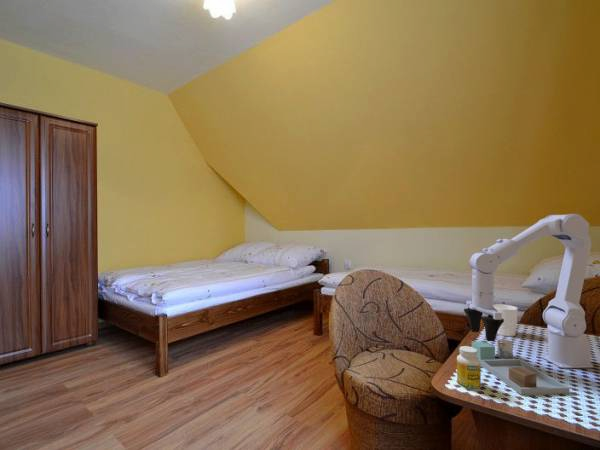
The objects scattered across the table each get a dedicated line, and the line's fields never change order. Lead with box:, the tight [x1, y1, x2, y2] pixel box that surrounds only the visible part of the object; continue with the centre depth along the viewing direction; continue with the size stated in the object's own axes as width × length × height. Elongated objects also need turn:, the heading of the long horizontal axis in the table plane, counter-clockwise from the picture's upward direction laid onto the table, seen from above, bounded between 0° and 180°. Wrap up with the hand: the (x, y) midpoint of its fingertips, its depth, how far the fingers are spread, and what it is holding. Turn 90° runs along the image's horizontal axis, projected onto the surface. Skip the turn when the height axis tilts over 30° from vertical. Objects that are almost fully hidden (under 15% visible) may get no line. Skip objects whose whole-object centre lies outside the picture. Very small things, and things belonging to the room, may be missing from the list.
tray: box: [479, 358, 570, 396], centre depth 83 cm, size 12×16×2 cm
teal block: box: [471, 340, 496, 360], centre depth 96 cm, size 4×4×4 cm
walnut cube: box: [509, 366, 536, 388], centre depth 78 cm, size 4×4×4 cm
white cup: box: [494, 303, 519, 337], centre depth 118 cm, size 8×8×10 cm
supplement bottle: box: [456, 345, 482, 391], centre depth 79 cm, size 5×5×10 cm
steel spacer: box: [496, 338, 514, 359], centre depth 96 cm, size 4×4×5 cm
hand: (482, 336), depth 96 cm, fingers open, 7 cm apart
